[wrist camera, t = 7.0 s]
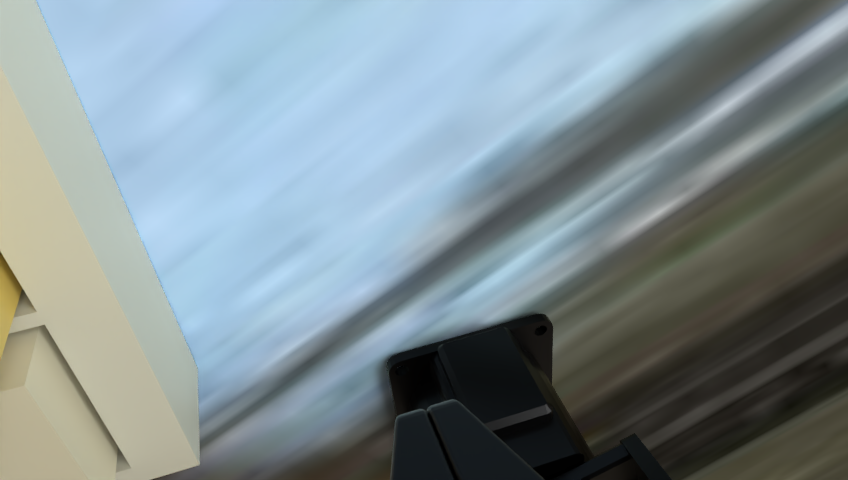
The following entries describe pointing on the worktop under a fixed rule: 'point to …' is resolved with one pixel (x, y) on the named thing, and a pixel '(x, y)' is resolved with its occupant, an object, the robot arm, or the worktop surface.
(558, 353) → the worktop surface
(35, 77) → the panel
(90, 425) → the cream tile
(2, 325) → the mustard tile
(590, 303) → the worktop surface
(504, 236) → the worktop surface
